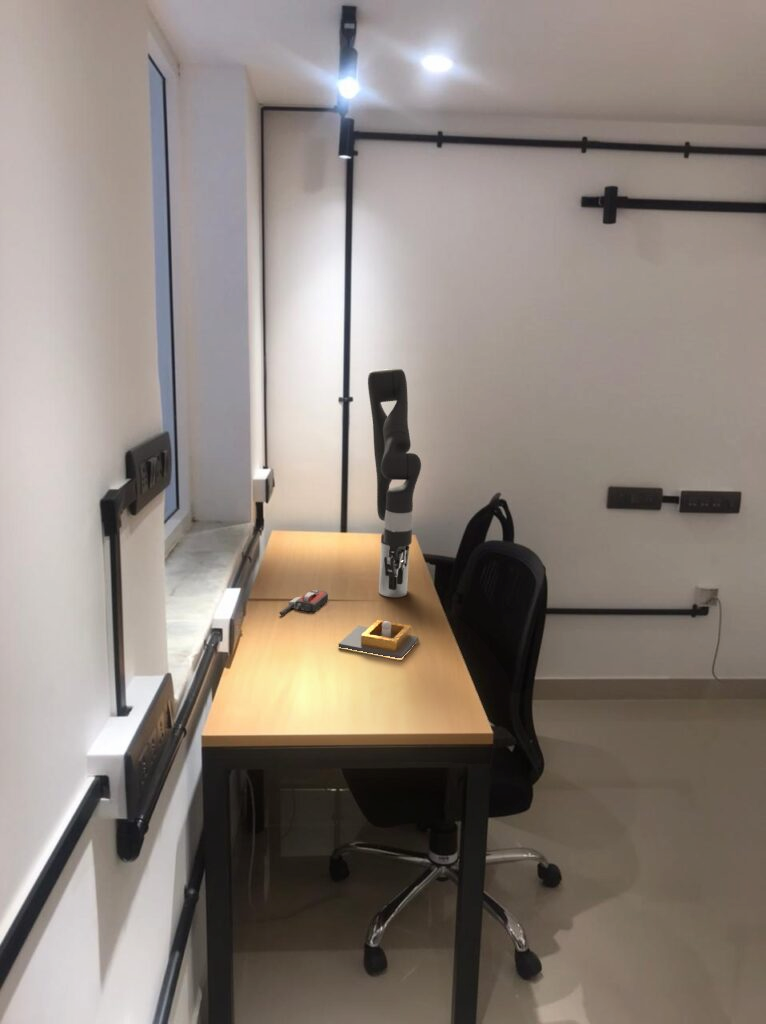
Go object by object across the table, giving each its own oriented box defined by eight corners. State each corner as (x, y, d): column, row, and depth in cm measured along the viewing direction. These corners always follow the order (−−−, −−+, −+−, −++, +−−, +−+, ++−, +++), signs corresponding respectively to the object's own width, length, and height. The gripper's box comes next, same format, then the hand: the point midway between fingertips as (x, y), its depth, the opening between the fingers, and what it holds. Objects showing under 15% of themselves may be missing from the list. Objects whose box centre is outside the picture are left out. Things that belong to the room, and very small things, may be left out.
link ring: (377, 629, 217) (377, 619, 216) (410, 636, 213) (411, 625, 212) (360, 645, 206) (361, 634, 205) (395, 652, 202) (396, 641, 202)
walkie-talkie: (305, 596, 246) (277, 617, 228) (305, 583, 245) (277, 603, 227) (330, 600, 243) (304, 621, 225) (330, 587, 242) (304, 607, 224)
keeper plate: (358, 630, 219) (359, 606, 218) (418, 641, 213) (419, 617, 212) (338, 648, 207) (339, 623, 205) (401, 661, 200) (402, 635, 199)
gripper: (394, 518, 214) (391, 576, 218) (375, 531, 201) (373, 592, 205) (419, 522, 211) (416, 580, 216) (402, 534, 198) (399, 597, 203)
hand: (395, 586), depth 210 cm, fingers open, 4 cm apart
